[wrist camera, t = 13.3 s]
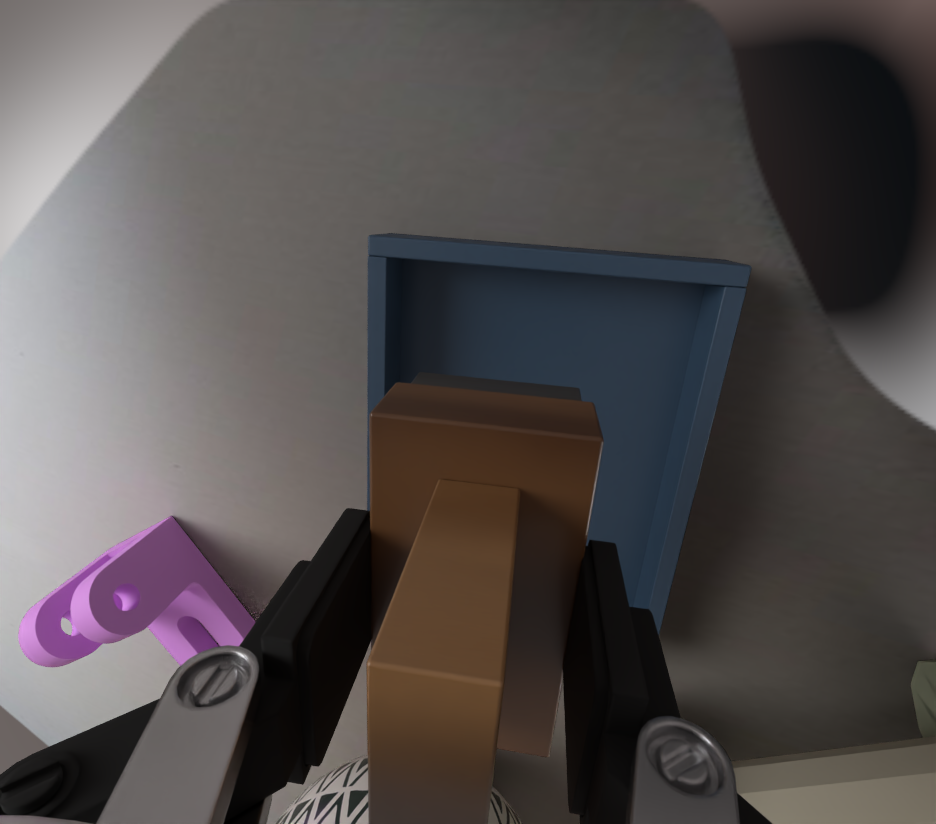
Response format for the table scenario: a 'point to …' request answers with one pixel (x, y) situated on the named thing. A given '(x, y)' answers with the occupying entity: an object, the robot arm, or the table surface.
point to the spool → (853, 776)
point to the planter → (359, 799)
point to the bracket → (138, 602)
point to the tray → (575, 362)
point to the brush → (470, 583)
